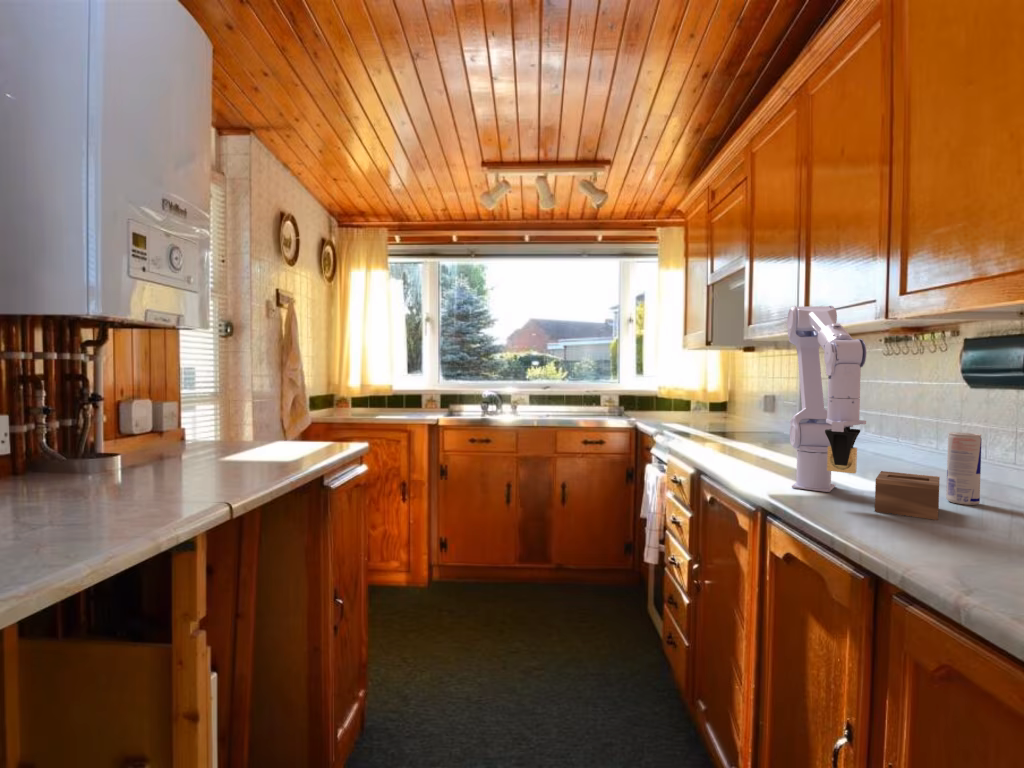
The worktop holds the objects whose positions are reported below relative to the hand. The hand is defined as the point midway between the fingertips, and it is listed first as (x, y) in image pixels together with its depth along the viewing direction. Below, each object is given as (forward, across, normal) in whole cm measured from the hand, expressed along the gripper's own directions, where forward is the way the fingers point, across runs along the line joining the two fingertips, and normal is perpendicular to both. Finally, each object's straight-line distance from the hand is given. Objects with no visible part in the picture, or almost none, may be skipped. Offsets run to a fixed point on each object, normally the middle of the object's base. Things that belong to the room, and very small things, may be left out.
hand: (841, 464), depth 117 cm
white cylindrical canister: (+9, +21, -20) cm, 30 cm away
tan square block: (+2, 0, 0) cm, 2 cm away
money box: (+9, +5, -11) cm, 15 cm away
